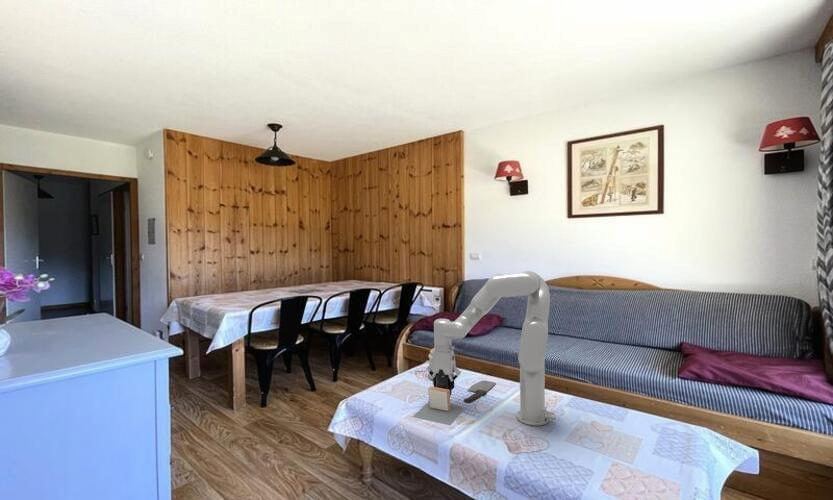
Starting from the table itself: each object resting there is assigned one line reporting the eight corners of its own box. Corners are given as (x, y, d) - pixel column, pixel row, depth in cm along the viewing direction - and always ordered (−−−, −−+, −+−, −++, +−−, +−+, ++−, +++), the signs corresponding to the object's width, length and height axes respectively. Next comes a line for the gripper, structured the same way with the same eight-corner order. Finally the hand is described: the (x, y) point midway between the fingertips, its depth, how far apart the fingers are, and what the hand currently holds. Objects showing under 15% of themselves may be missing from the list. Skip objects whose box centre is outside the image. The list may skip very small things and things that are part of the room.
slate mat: (465, 409, 164) (465, 407, 164) (450, 426, 149) (450, 425, 149) (429, 401, 172) (429, 400, 172) (412, 418, 157) (412, 416, 157)
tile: (450, 409, 162) (449, 389, 161) (448, 412, 160) (447, 392, 159) (431, 405, 166) (430, 386, 165) (429, 407, 164) (427, 388, 163)
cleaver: (474, 406, 167) (474, 401, 167) (454, 401, 172) (454, 397, 172) (497, 384, 192) (497, 380, 192) (479, 381, 197) (479, 377, 197)
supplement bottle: (442, 390, 171) (441, 364, 171) (454, 394, 167) (454, 367, 166) (432, 395, 166) (432, 368, 166) (445, 399, 162) (445, 371, 161)
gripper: (464, 347, 165) (465, 388, 166) (428, 343, 173) (429, 381, 174) (458, 352, 158) (459, 394, 159) (421, 347, 167) (422, 387, 167)
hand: (443, 387), depth 166 cm, fingers closed on supplement bottle, 6 cm apart
